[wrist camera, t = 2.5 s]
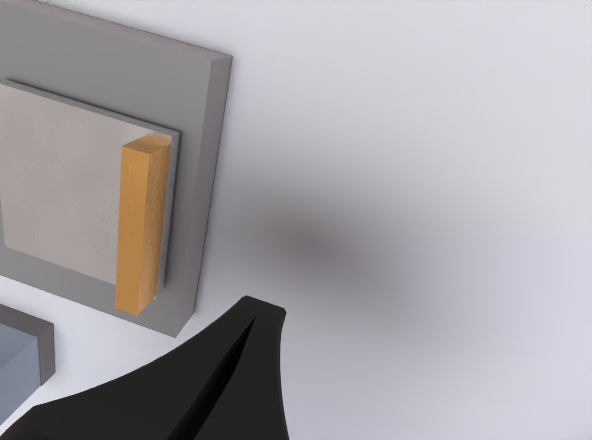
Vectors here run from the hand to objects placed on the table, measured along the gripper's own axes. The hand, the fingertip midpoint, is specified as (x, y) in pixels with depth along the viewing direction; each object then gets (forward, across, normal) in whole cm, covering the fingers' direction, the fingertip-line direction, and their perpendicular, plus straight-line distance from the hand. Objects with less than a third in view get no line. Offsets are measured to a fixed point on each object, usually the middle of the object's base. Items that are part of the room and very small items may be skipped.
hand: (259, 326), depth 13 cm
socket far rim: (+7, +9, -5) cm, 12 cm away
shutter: (+4, +9, 0) cm, 10 cm away
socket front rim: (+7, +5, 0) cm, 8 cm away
